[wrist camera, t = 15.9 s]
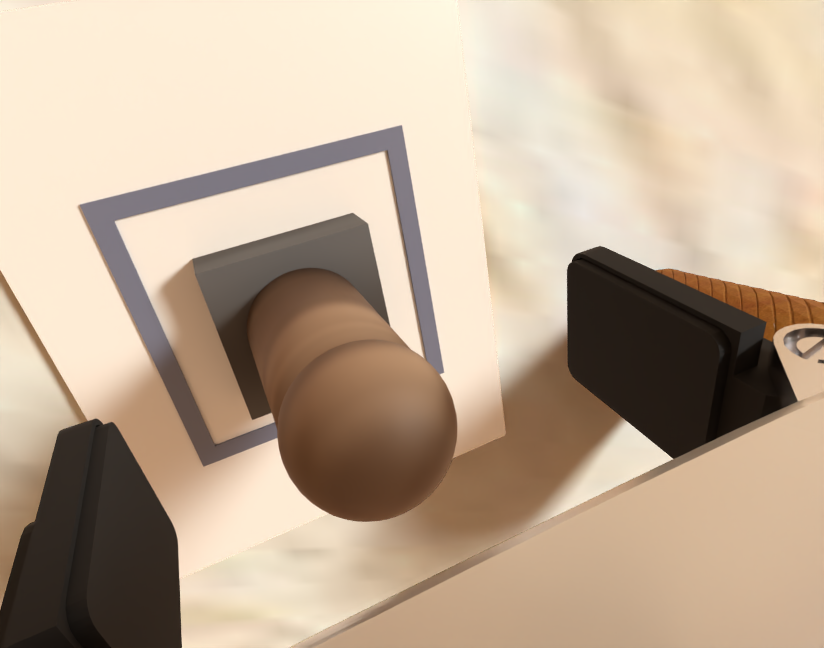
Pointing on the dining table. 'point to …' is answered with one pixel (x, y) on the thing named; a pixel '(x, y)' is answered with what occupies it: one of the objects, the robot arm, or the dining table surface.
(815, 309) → the disposable coffee cup
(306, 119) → the sheet
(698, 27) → the dining table surface
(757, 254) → the dining table surface
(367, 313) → the stamp
